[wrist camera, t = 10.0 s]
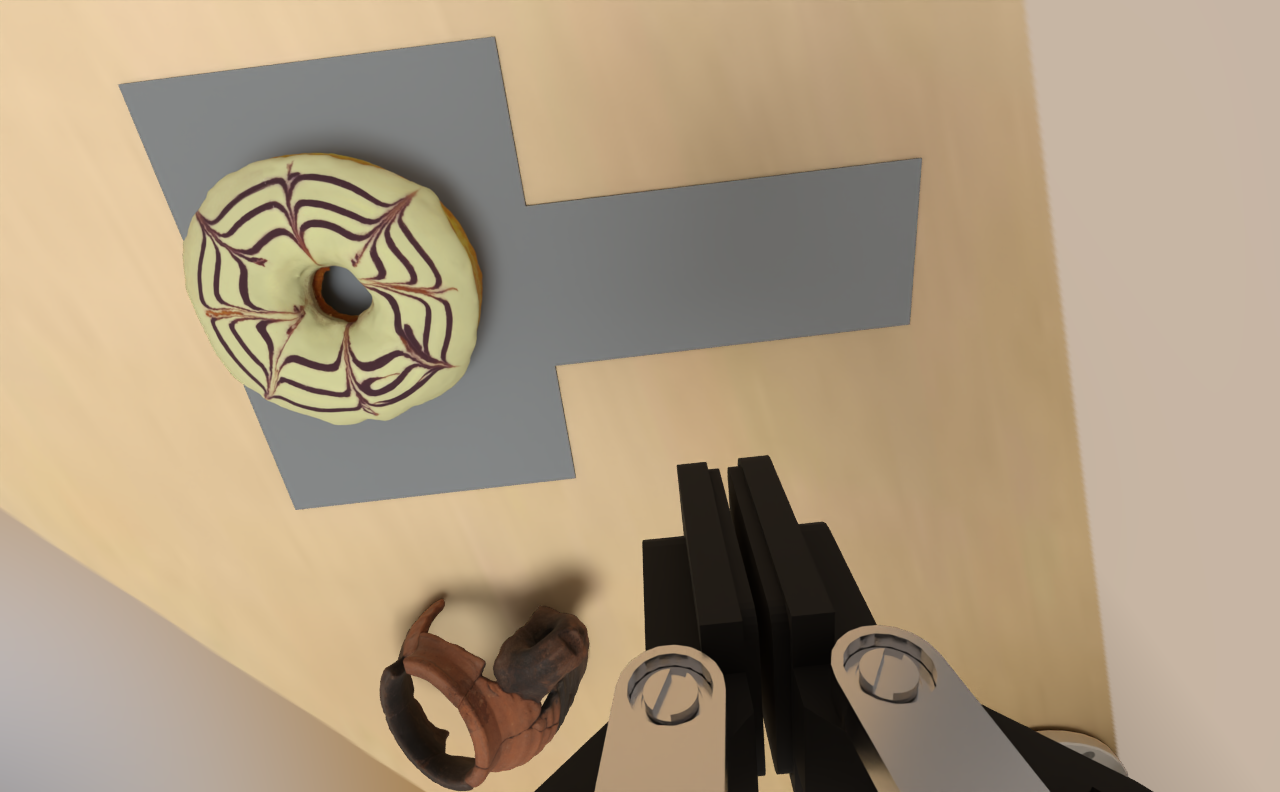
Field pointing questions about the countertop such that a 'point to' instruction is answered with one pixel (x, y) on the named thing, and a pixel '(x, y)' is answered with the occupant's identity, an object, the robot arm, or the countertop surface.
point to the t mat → (529, 257)
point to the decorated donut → (292, 282)
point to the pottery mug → (486, 695)
